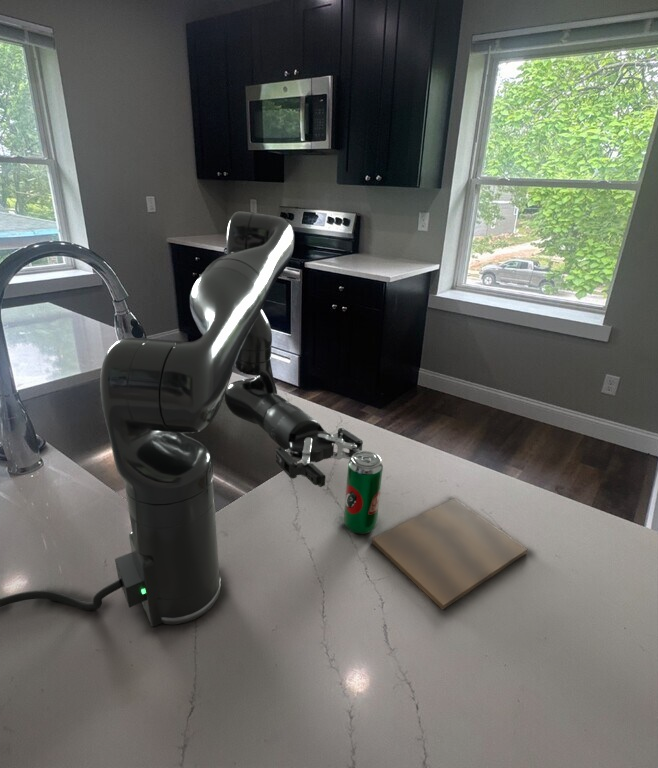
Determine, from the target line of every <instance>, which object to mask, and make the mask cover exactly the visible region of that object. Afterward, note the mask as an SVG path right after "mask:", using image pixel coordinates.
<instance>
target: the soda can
mask: <svg viewBox="0 0 658 768" xmlns="http://www.w3.org/2000/svg"><path fill="white" fill-rule="evenodd" d="M383 469H384V466H383V463H382V459H381V457H380V455H378V454H377V453H375V452H372V451H367V450H362V451H360V452H356V453H354V454H353V455H352V457H351V459H349V461H348V463H347V475H346V486H345V487H346V488H345V501H344V512H343V513H344V514H343V523H344V525H345V527H346V529H348V530H349V531H351V532H352V533H354V534H359V535H363V534H368V533H370V532H372V531H373V530H374V529H376V527H377V524H378V514H379V505H380V498H381V497H380V496H381V486H382V478H383V471H384V470H383Z"/></svg>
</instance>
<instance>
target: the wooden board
mask: <svg viewBox="0 0 658 768" xmlns="http://www.w3.org/2000/svg"><path fill="white" fill-rule="evenodd" d="M371 544H372V545H373V546H375V547H376V549H378V551H380V552H381V554H383V555H384V556H385V557H386V558H387V559H388V560H389V561H390V562H392V564H393V565H394V566H395V567H397V568H398V569H399V570H400V572H402V573H403V574H404V575H405V576H406V577H407V578H408V579H409V580H410V581H411V582H413V583H414V584H415V585H416V586H417V587H418V588H419V589H420V590H421V591H422V592H423V593H424V594H425V595H426V596H427V597H429V599H431V600H432V602H434V604H436V605H437V606H438V607H439V608H440V610H442V611H443V610H445V609H447V608H448V607H449V606H451V605H452V604H453V603H455V602H456V601H458V600H459V599H461V598H463V597H464V596H466V595H467V594H468V593H470V592H472V591H473V590H474V589H476V588H477V587H479V586H481V585H482V584H483V583H485V582H486V581H488V580H490V579H491V578H492V577H494V576H495V575H497V574H498V573H499V572H501V571H502V570H504V569H506V568H507V567H508V566H510V565H511V564H513V563H515V562H516V561H517V560H519V559H520V558H522V557H523V556H525V555H526V554H527V553H528V548H527V547H525V546H524V545H522V544H521V543H519V542H518V541H516V540H515V539H514V538H512V537H510V536H509V535H508V534H507V533H505V532H504V531H502V529H501V530H500V529H499V528H498V527H497V526H495V525H493V524H492V523H491V522H489V521H488V520H486V519H485V518H483V517H482V516H481V515H479V514H478V513H476V512H475V511H473V510H472V509H470V508H469V507H468V506H466V505H465V504H463V503H462V502H461V501H459V500H457V498H451V499H450V500H447V501H446V502H444V503H442V504H439V505H438V506H435V507H433V508H431V509H429V510H427V511H425V512H423V513H421V514H419V515H417V516H415V517H413V518H411V519H409V520H407V521H404V522H402V523H401V524H399V525H397V526H395V527H393V528H391V529H389V530H386V531H385V532H382V533H381V534H378V535H377V536H374V537H372V538H371Z"/></svg>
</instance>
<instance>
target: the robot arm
mask: <svg viewBox="0 0 658 768" xmlns="http://www.w3.org/2000/svg"><path fill="white" fill-rule="evenodd" d="M294 247H295V231H294V228H293V226H292V223H291V222H290V221H289V220H288V219H286V218H284V217H282V216H278V215H273V214H267V213H266V214H265V213H259V212H253V211H246V210H245V211H244V210H237V211H235V212H234V213H232V215H231V217H230V219H229V222H228V224H227V230H226V254H224V255H221V256H219V257H218V258H216V259H215V260H213V261H212V262H211V263H209V265H208V266H207V267H206V268H205V270H204V271H203V272H202V273H201V274H200V276H199V277H198V278H197V279H196V281H195V282H194V283H193V286H192V288H191V290H190V294H189V308H190V312H191V316H192V318H193V320H194V322H195V324H196V327H197V328H198V330H199V332H200V334H201V335H202V336H201V337H200V338H198V339H195V340H193V341H183V340H171V339H159V338H147V337H146V338H145V337H126V338H122V339H119V340H117V341H116V342H115V343H113V344H112V345H111V346H110V348H109V349H108V351H107V352H106V354H105V356H104V359H103V361H102V364H101V370H100V376H99V377H100V378H99V379H100V381H99V392H100V402H101V408H102V413H103V419H104V421H105V425H106V430H107V433H108V434H107V435H108V438H109V443H110V447H111V452H112V456H113V461H114V465H115V469H116V471H117V474H118V475H119V476H120V478H121V479H122V481H123V483H124V488H125V495H126V500H127V508H128V514H129V521H130V527H131V532H130V533H129V534H128V539H129V543H130V549H131V550H130V551H131V552H129V553H126V554H123V555H121V556H119V557H115V558H114V562H115V563H114V564H115V569H116V573H117V578H118V579H117V580H115V581H114V582H112V583H110V584H108V585H106V586H105V587H103V588H101V589H100V590H99V591H97V592H96V593H95V595H94V596H93V599H92V601H85V600H80V599H78V598H75V597H72V596H70V595H67V594H65V593H61V592H57V591H52V590H45V589H44V590H29V591H23V592H18V593H15V594H10V595H7V596H4V597H1V598H0V608H2V607H5V606H8V605H11V604H15V603H19V602H24V601H29V600H40V599H42V600H50V601H54V602H57V603H61V604H64V605H67V606H71V607H73V608H77V609H79V610H83V611H96V610H98V609H99V608H101V606H102V604H103V599H104V598H105V597H107V596H109V595H110V594H112V593H115V592H116V591H118V590H120V589H122V592H123V594H124V597H125V600H126V603H127V606H128V608H132V607H134V606H136V605H138V604H141V603H142V609H143V610H144V612H145V614H146V616H147V619H148V621H149V624H150V626H151V627H157V626H159V625H161V624H164V625H177V624H178V625H179V624H184V623H188V622H190V621H193V620H196V619H197V618H200V617H201V616H203V615H204V614H206V613H207V612H208V611H209V610H210V609H212V607H214V605H215V604H216V602H217V601H218V599H219V597H220V595H221V594H220V593H221V589H222V583H221V581H222V580H221V575H220V573H221V572H220V565H219V564H220V563H219V549H218V547H219V546H218V533H217V531H218V530H217V514H216V498H215V485H214V483H215V482H214V481H215V480H214V468H213V467H214V466H213V458H212V455H211V452H210V451H209V449H208V448H207V447H206V446H205V445H204V444H203V443H202V442H200V441H198V440H197V439H195V438H193V437H191V436H188V435H186V434H195V433H200V432H202V431H204V430H205V429H207V428H208V427H209V426H210V425H211V423H212V422H213V421H214V419H215V418H216V416H217V414H218V412H219V410H220V407H221V405H222V403H223V400H224V401H225V405H226V407H227V408H228V410H229V411H230V412H231V413H232V414H233V415H234V416H236V417H237V418H239V419H241V420H244V421H246V422H248V423H252V424H255V425H258V426H259V427H260V428H261V429H262V430H263V431H265V433H267V434H268V436H269V437H270V439H272V441H274V442H275V443H276V444H277V445H278V446H277V447H276V448H275V462H276V464H277V465H278V467H280V468H281V469H282V470H283V472H285V474H286V475H287V476H288V477H289V478H290V479H296V478H297V477H298V476H301V477H303V478H306V479H308V481H309V482H311V484H313V485H314V486H318V487H319V488H322V487H325V486H326V474H325V473H324V472H323V471H321V469H319V468H318V467H317V466H316V465H315V464H316V463H319V462H322V461H323V460H328V459H334V460H342V459H345V460H351V457H352V455H353V454H354V453H356V452H360V451H363V443H364V441H363V440H362V438H359V437H358V436H357V435H356V434H353V433H351V432H350V431H348V430H347V429H346V428H344V427H339V428H338V429H337V432H336V433H334V434H333V433H329V432H326V431H325V430H324V429H323V427H322V425H321V423H320V422H318V421H317V420H316V419H315V418H313V417H312V416H311V415H310V414H308V413H306V412H305V411H304V410H303V409H301V408H299V407H298V406H297V405H294V404H293V403H290V402H289V401H288V400H286V398H284V397H283V396H281V395H280V394H278V389H277V385H276V382H275V378H274V373H273V368H272V344H273V332H272V328H271V324H270V321H269V319H268V317H267V315H266V313H265V311H264V310H263V308H264V306H265V303H266V301H267V298H268V296H269V294H270V291H271V290H272V288H273V285H274V284H276V281H277V280H278V279H279V277H280V276H281V275H282V274H283V273H284V271H285V269H286V268H287V266H288V265H289V263H290V261H291V258H292V255H293V252H294ZM235 368H236V370H237V371H238V372H239V373H240V374H241V373H242V374H244V375H250V376H254V377H249V378H244V379H240V380H235V381H233V382H231V383H230V380H231V377H232V374H233V372H234V369H235ZM229 383H230V384H229ZM335 445H336V446H337V452H335ZM344 449H347V450H348V452H347V451H344ZM295 459H296V460H295ZM297 460H301V462H298V461H297ZM314 463H315V464H314Z"/></svg>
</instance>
